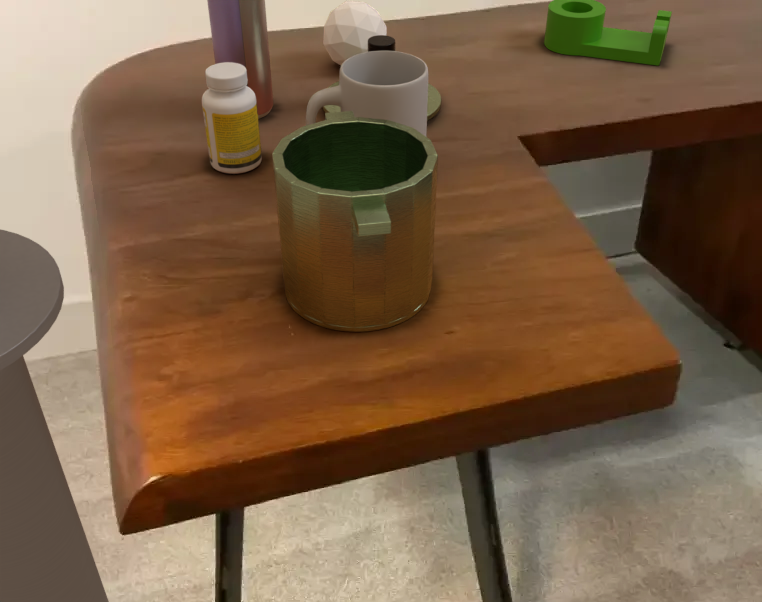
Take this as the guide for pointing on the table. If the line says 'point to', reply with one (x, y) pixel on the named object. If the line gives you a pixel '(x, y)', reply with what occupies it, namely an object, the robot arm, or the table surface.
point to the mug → (379, 89)
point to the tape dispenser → (601, 34)
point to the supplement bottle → (231, 119)
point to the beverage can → (244, 44)
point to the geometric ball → (351, 30)
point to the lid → (389, 45)
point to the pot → (356, 221)
